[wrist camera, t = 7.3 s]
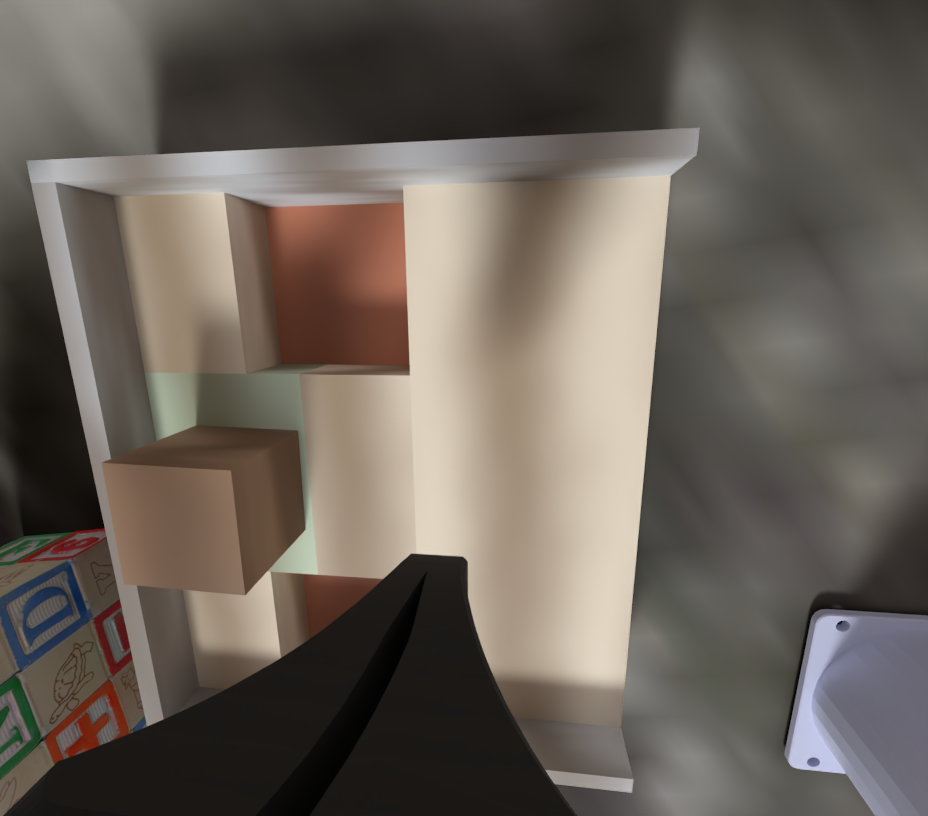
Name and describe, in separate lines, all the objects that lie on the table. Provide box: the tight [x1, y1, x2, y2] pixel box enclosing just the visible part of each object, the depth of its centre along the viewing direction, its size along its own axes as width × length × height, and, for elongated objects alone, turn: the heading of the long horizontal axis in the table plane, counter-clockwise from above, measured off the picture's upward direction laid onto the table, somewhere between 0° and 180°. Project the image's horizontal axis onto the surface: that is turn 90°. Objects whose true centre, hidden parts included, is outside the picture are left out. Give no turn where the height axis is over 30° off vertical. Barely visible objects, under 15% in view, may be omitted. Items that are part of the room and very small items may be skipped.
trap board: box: [27, 128, 699, 793], centre depth 17 cm, size 19×21×5 cm
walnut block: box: [102, 425, 305, 595], centre depth 15 cm, size 4×4×4 cm
